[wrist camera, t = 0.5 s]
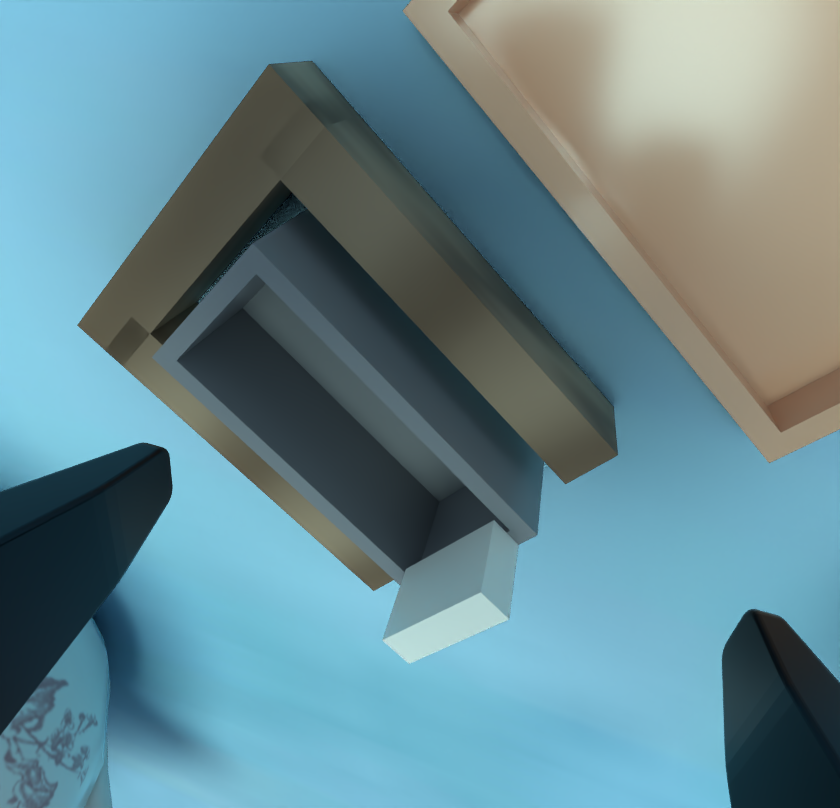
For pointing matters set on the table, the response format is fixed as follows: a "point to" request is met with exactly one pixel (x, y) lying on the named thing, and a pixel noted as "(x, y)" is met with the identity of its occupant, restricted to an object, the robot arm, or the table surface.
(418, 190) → the dock
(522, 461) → the caddy
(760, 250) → the tray
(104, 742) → the chamber pot
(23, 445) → the table surface
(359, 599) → the table surface
